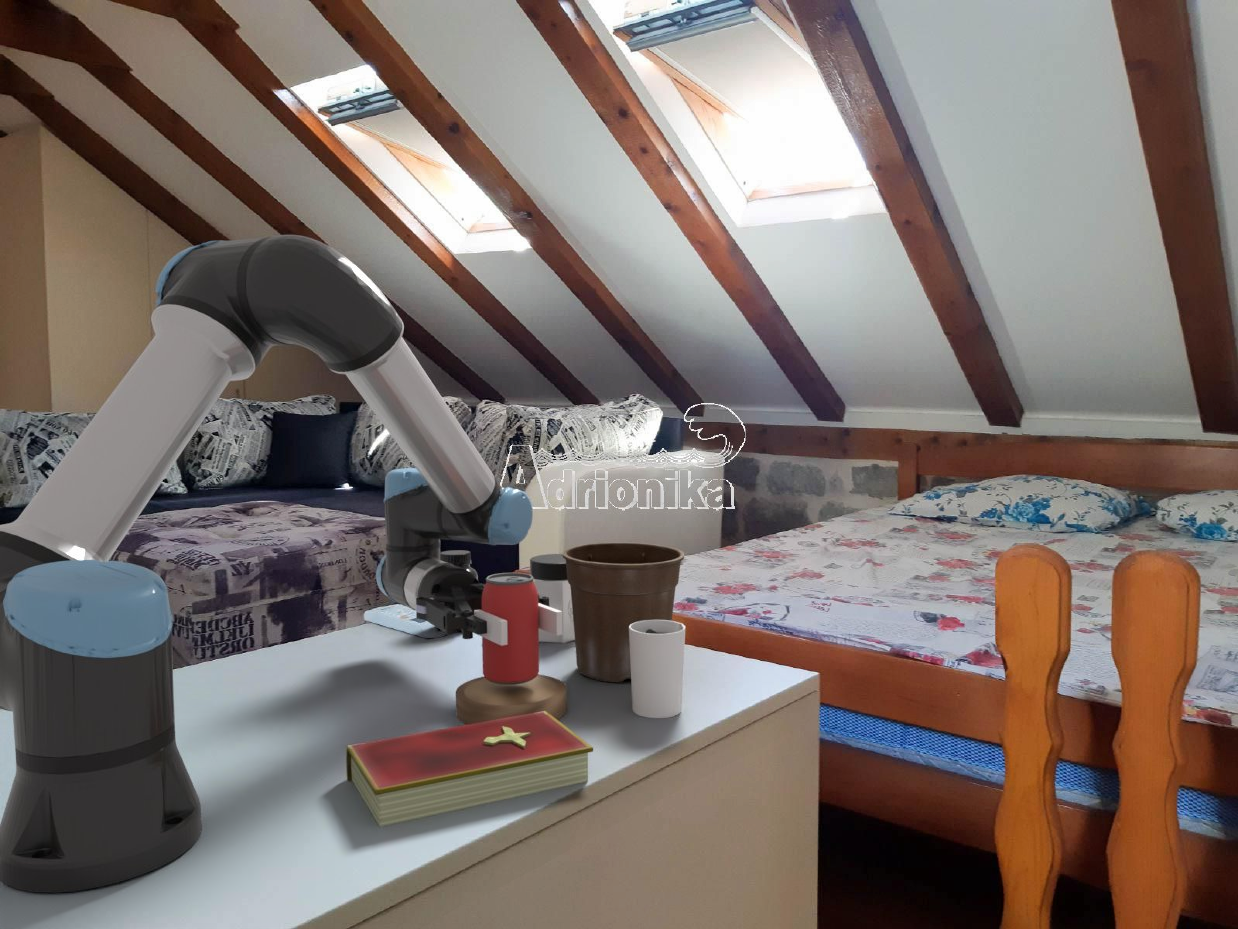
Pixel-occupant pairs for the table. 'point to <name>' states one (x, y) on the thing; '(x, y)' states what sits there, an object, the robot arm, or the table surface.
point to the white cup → (657, 667)
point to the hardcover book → (465, 766)
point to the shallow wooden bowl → (509, 699)
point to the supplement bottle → (458, 561)
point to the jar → (554, 593)
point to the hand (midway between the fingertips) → (532, 628)
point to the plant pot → (617, 600)
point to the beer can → (512, 629)
